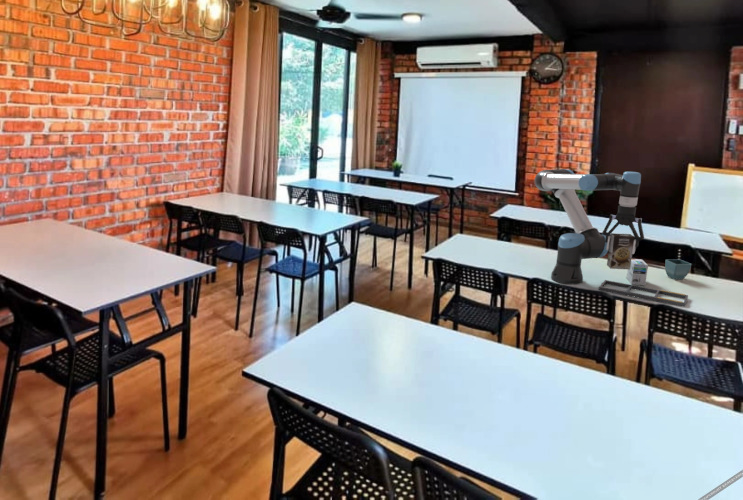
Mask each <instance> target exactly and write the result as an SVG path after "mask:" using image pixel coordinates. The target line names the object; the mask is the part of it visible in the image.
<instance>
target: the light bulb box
mask: <svg viewBox="0 0 743 500" xmlns="http://www.w3.org/2000/svg"><path fill="white" fill-rule="evenodd" d="M648 268H649V264H648V263H646V262H645V261H644V260H643V259H638V258H632V259H631V266H630V270H629V269H626V271H627V272H626V276H625V279H626V280H627V281H628V282H629V283H630V285H635V286H646V281H647V275H648Z"/></svg>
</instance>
